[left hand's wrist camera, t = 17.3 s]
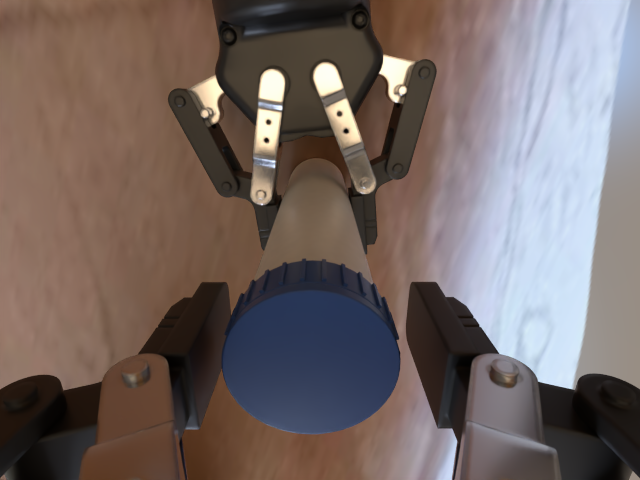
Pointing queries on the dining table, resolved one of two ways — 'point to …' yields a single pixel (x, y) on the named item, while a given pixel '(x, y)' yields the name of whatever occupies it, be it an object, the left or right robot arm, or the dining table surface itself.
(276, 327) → the lid
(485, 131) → the dining table surface
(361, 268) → the white tube
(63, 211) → the dining table surface
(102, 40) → the dining table surface
